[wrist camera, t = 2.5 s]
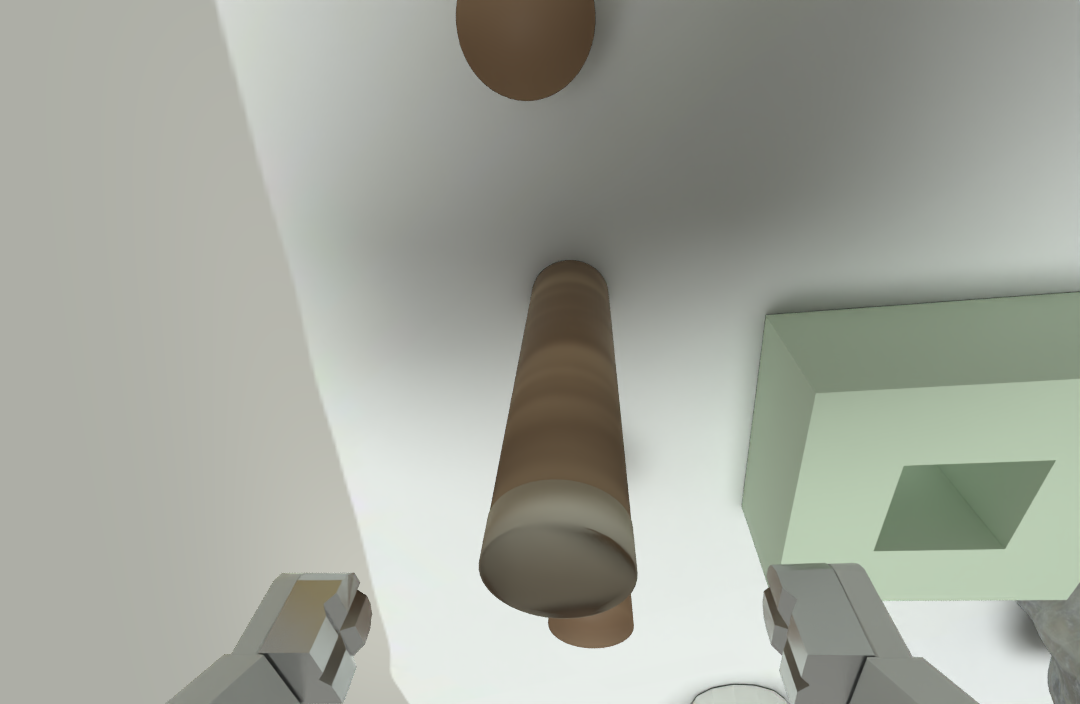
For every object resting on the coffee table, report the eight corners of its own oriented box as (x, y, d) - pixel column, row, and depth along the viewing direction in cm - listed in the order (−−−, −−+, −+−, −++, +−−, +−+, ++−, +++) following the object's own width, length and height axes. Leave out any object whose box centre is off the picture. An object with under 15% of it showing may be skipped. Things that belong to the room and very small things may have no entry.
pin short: (483, -30, 14) (441, -54, 10) (587, -48, 14) (590, -79, 10) (500, 87, 16) (470, 108, 12) (595, 74, 16) (599, 91, 11)
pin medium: (553, 440, 24) (543, 601, 17) (617, 437, 24) (632, 600, 17) (560, 485, 25) (553, 648, 19) (619, 482, 25) (634, 648, 18)
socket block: (765, 314, 20) (815, 393, 15) (1085, 291, 18) (1236, 370, 14) (741, 506, 25) (773, 601, 21) (982, 499, 24) (1067, 599, 20)
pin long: (526, 263, 19) (464, 524, 9) (606, 256, 19) (635, 519, 9) (536, 332, 21) (493, 618, 11) (610, 326, 20) (639, 618, 10)
